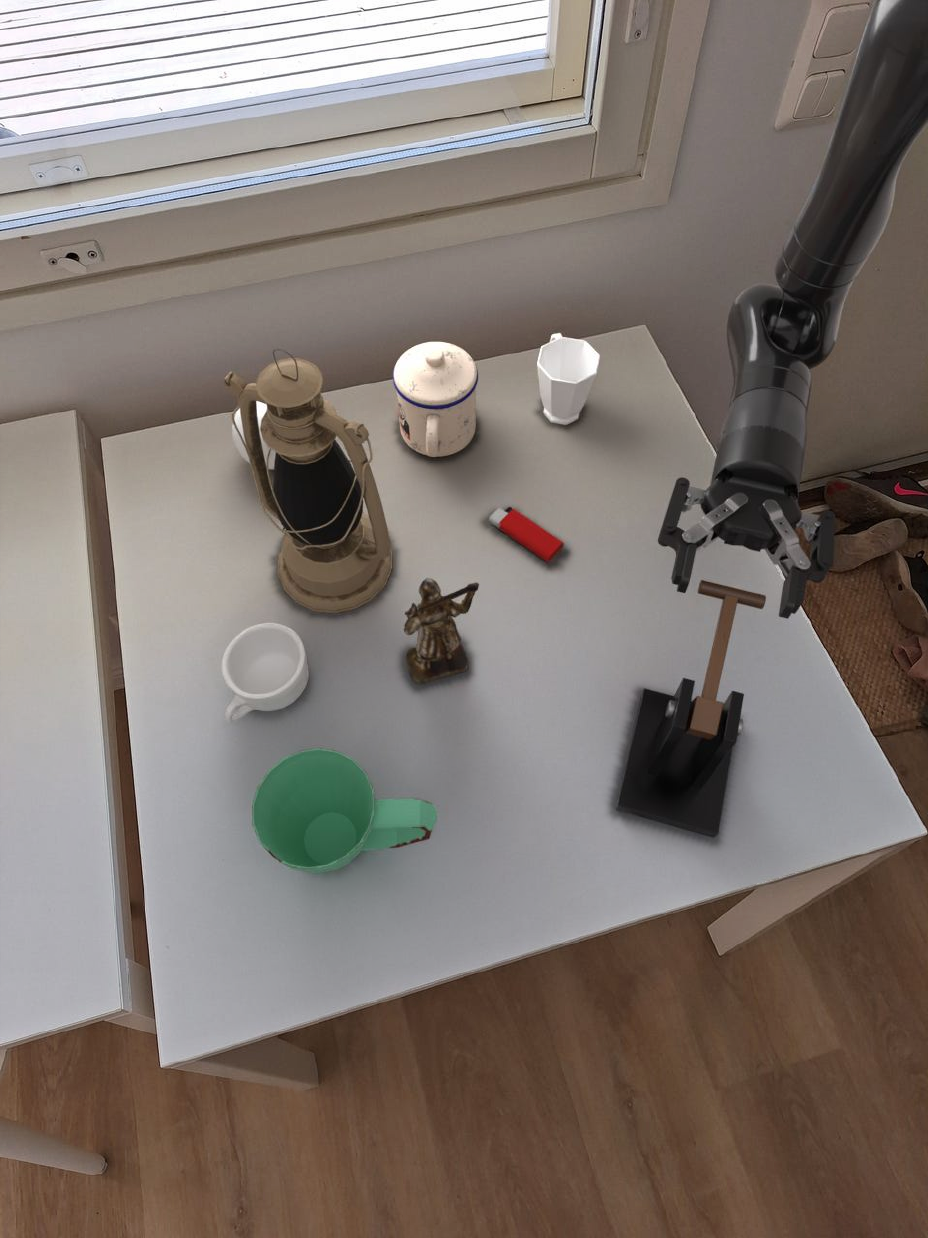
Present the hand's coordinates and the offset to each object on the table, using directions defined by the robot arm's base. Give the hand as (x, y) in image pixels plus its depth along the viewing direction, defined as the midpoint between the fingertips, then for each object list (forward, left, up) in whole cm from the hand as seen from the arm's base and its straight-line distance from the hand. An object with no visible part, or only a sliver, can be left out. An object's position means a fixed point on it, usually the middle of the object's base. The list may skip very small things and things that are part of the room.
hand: (734, 600), depth 73 cm
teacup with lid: (+26, -29, -15) cm, 42 cm away
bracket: (+2, +9, -15) cm, 18 cm away
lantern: (+36, -12, -15) cm, 41 cm away
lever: (+1, +4, -4) cm, 6 cm away
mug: (+31, +17, -15) cm, 39 cm away
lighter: (+16, -16, -15) cm, 28 cm away
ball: (+44, -26, -16) cm, 54 cm away
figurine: (+24, -1, -15) cm, 29 cm away
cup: (+12, -35, -15) cm, 40 cm away
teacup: (+41, +3, -15) cm, 44 cm away
